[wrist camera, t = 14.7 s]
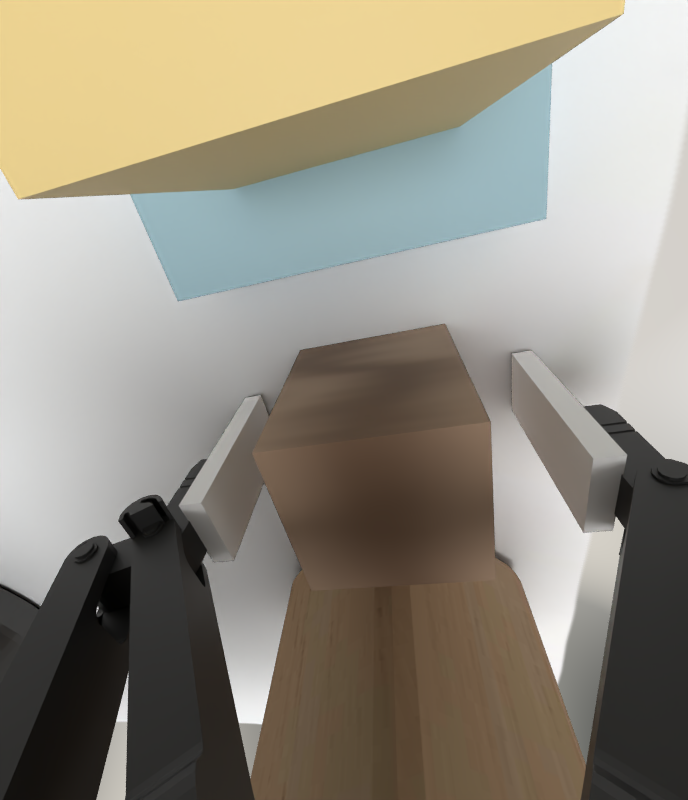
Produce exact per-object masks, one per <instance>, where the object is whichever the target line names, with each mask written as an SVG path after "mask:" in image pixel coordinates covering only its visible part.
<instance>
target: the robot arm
mask: <svg viewBox="0 0 688 800" xmlns="http://www.w3.org/2000/svg"><path fill="white" fill-rule="evenodd" d="M512 411H513V413H514V415H515V416H516V418H517V420H518V422H519V423H520V425H521V427H522V428H523V430H524V432H525V433H526V435H527V437H528V439H529V440H530V442H531V444H532V445H533V447H534V449H535V451H536V452H537V454H538V456H539V457H540V459H541V461H542V463H543V464H544V466H545V468H546V469H547V471H548V473H549V475H550V476H551V478H552V480H553V481H554V483H555V485H556V487H557V488H558V490H559V492H560V493H561V495H562V497H563V499H564V500H565V502H566V504H567V505H568V507H569V509H570V510H571V512H572V514H573V516H574V517H575V519H576V521H577V522H578V524H579V526H580V528H581V529H582V531H583V533H587V532H599V531H612V530H613V528H614V522H615V517H617V518H618V520H619V521H620V522H621V524H622V525H623V527H624V528H625V529H624V534H623V539H622V543H621V548H620V553H619V555H620V558H619V564H618V570H617V577H616V582H615V589H614V595H613V601H612V608H611V614H610V620H609V626H608V633H607V639H606V646H605V651H604V657H603V664H602V670H601V676H600V682H599V689H598V695H597V701H596V707H595V714H594V720H593V727H592V733H591V739H590V745H589V751H588V757H587V764H586V770H585V776H584V782H583V789H582V795H581V800H688V465H687V464H685V463H682V462H679V461H675V460H672V459H665V458H664V457H663V456H662V455H661V454H660V453H659V452H658V451H657V450H656V449H655V448H653V446H651V445H650V444H649V443H648V442H647V441H646V440H645V439H644V438H643V437H642V436H641V435H640V434H639V433H638V432H635V429H634V428H633V427H632V426H631V425H630V424H627V422H626V420H625V419H623V418H622V417H621V416H620V415H619V414H618V413H617V412H616V411H614V410H612V409H610V408H608V407H606V406H603V405H601V404H600V405H592V406H585V407H583V406H582V405H581V404H580V403H579V401H578V400H577V399H576V398H575V397H574V396H573V395H572V394H571V393H570V392H569V391H568V389H567V388H566V387H565V386H564V385H563V384H562V383H561V382H560V381H559V380H558V378H557V377H556V376H555V375H554V374H553V373H552V372H551V371H550V370H549V369H548V367H547V366H546V365H545V364H544V363H543V362H542V361H541V360H540V359H539V358H538V357H537V355H536V354H535V353H534V352H533V351H532V350H530V351H524V352H518V353H512ZM268 418H269V415H268V413H267V410H266V408H265V405H264V403H263V400H262V397H261V395H259V396H253V397H247V398H245V399H244V401H243V402H242V404H241V405H240V407H239V409H238V410H237V412H236V414H235V415H234V417H233V418H232V420H231V422H230V423H229V425H228V427H227V428H226V430H225V431H224V433H223V435H222V436H221V438H220V439H219V441H218V443H217V444H216V446H215V448H214V449H213V451H212V452H211V454H210V456H209V457H208V459H203V460H201V461H200V462H199V463H197V464H196V465H195V466H194V467H193V468H192V469H191V470H190V472H189V473H188V475H187V477H186V478H185V480H184V481H183V483H182V484H181V486H180V488H179V489H178V490H177V492H176V493H175V495H174V496H173V498H172V500H171V501H170V503H169V504H168V506H166V505H165V503H164V501H163V500H162V498H161V497H160V496H158V495H149V496H146V497H143V498H140V499H139V500H137V501H135V502H134V503H132V504H131V505H130V506H128V507H127V508H126V509H125V510H124V511H123V513H122V514H121V515H120V518H119V523H120V524H121V525H122V527H123V528H124V529H125V531H126V532H127V534H128V535H129V536H130V538H129V539H127V540H124V541H121V542H118V543H115V544H112V543H111V542H110V541H109V539H108V538H107V537H106V536H97V537H93V538H91V539H88V540H86V541H84V542H83V543H82V544H80V545H78V546H77V547H76V548H75V549H74V550H73V551H72V552H71V553H70V554H69V555H68V557H67V558H66V559H65V561H64V563H63V565H62V567H61V569H60V571H59V572H58V574H57V576H56V578H55V580H54V582H53V584H52V586H51V588H50V590H49V592H48V594H47V596H46V597H45V599H44V601H43V603H42V605H41V607H40V609H37V608H36V607H34V606H33V605H31V604H30V603H28V602H27V601H25V600H23V599H21V598H20V597H18V596H16V595H14V594H12V593H10V592H8V591H6V590H4V589H2V588H0V800H96V798H97V794H98V790H99V786H100V782H101V778H102V774H103V770H104V766H105V762H106V758H107V754H108V750H109V746H110V742H111V738H112V734H113V730H114V727H115V723H116V719H117V715H118V711H119V707H120V703H121V699H122V695H123V691H124V687H125V683H126V679H127V675H128V671H129V680H128V722H127V724H128V726H127V765H126V797H125V800H255V798H254V794H253V790H252V785H251V781H250V776H249V771H248V767H247V762H246V757H245V752H244V747H243V743H242V737H241V733H240V728H239V723H238V718H237V713H236V709H235V704H234V699H233V694H232V690H231V685H230V680H229V675H228V670H227V666H226V661H225V656H224V651H223V646H222V642H221V637H220V632H219V627H218V623H217V618H216V613H215V608H214V603H213V599H212V594H211V589H210V584H209V579H208V575H207V570H206V568H205V566H204V564H203V563H202V561H203V558H204V556H205V554H206V552H208V554H209V556H210V557H211V559H212V561H213V562H225V561H234V560H235V557H236V554H237V552H238V549H239V547H240V544H241V541H242V539H243V536H244V533H245V531H246V528H247V526H248V523H249V520H250V518H251V515H252V512H253V510H254V507H255V505H256V502H257V499H258V497H259V494H260V491H261V489H262V486H263V484H264V480H263V478H262V475H261V473H260V471H259V468H258V466H257V464H256V462H255V459H254V457H253V455H252V452H253V450H254V448H255V446H256V444H257V441H258V439H259V437H260V435H261V433H262V431H263V429H264V426H265V424H266V422H267V420H268ZM97 606H98V607H99V610H98V612H97V615H96V609H97Z"/></svg>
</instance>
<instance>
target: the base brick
mask: <svg viewBox="0 0 688 800" xmlns="http://www.w3.org/2000/svg"><path fill="white" fill-rule="evenodd" d="M551 78H552V63H551V64H550V65H548V66H547V67H546V68H544V69H543V70H541V71H540V72H538V73H537V74H535V75H534V76H532V77H531V78H530V79H528V80H527V81H525V82H524V83H522V84H521V85H519V86H518V87H516V88H515V89H514V90H512V91H511V92H509V93H508V94H506V95H505V96H503V97H502V98H500V99H499V100H498V101H496V102H495V103H493V104H492V105H490V106H489V107H487V108H486V109H485V110H483V111H482V112H480V113H479V114H477V115H476V116H474V117H473V118H471V119H470V120H469V121H467V122H466V123H464V124H463V125H461V126H460V127H456V128H453V129H449V130H445V131H442V132H438V133H435V134H431V135H427V136H424V137H420V138H417V139H413V140H409V141H406V142H402V143H399V144H395V145H391V146H388V147H384V148H380V149H377V150H373V151H370V152H366V153H362V154H359V155H355V156H352V157H348V158H344V159H341V160H337V161H334V162H330V163H326V164H323V165H319V166H316V167H312V168H308V169H305V170H301V171H297V172H294V173H290V174H287V175H283V176H279V177H276V178H272V179H269V180H265V181H261V182H258V183H254V184H251V185H247V186H243V187H240V188H236V189H228V190H206V191H185V192H164V193H143V194H130V195H131V197H132V200H133V202H134V204H135V206H136V209H137V211H138V213H139V215H140V217H141V220H142V222H143V224H144V226H145V229H146V231H147V233H148V235H149V238H150V240H151V242H152V244H153V247H154V249H155V251H156V253H157V255H158V258H159V260H160V262H161V264H162V267H163V269H164V271H165V273H166V276H167V278H168V280H169V282H170V285H171V287H172V289H173V291H174V293H175V296H176V298H177V300H178V301H182V300H187V299H191V298H196V297H200V296H204V295H209V294H213V293H218V292H222V291H227V290H231V289H236V288H240V287H245V286H249V285H254V284H258V283H262V282H267V281H271V280H276V279H280V278H285V277H289V276H294V275H298V274H303V273H307V272H311V271H316V270H320V269H325V268H329V267H334V266H338V265H343V264H347V263H352V262H356V261H360V260H365V259H369V258H374V257H378V256H383V255H387V254H392V253H396V252H401V251H405V250H409V249H414V248H418V247H423V246H427V245H432V244H436V243H441V242H445V241H450V240H454V239H458V238H463V237H467V236H472V235H476V234H481V233H485V232H490V231H494V230H499V229H503V228H507V227H512V226H516V225H521V224H525V223H530V222H534V221H539V220H543V219H546V210H547V184H548V157H549V131H550V105H551Z"/></svg>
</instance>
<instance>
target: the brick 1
mask: <svg viewBox="0 0 688 800" xmlns="http://www.w3.org/2000/svg"><path fill="white" fill-rule="evenodd" d="M624 5H625V0H0V169H1V170H2V172H3V174H4V176H5V177H6V179H7V181H8V183H9V184H10V186H11V188H12V189H13V191H14V193H15V195H16V196H17V198H18V199H37V198H58V197H80V196H101V195H122V194H143V193H164V192H185V191H206V190H228V189H236V188H240V187H243V186H247V185H251V184H254V183H258V182H261V181H265V180H269V179H272V178H276V177H279V176H283V175H287V174H290V173H294V172H297V171H301V170H305V169H308V168H312V167H316V166H319V165H323V164H326V163H330V162H334V161H337V160H341V159H344V158H348V157H352V156H355V155H359V154H362V153H366V152H370V151H373V150H377V149H380V148H384V147H388V146H391V145H395V144H399V143H402V142H406V141H409V140H413V139H417V138H420V137H424V136H427V135H431V134H435V133H438V132H442V131H445V130H449V129H453V128H456V127H460V126H461V125H463V124H464V123H466V122H467V121H469V120H470V119H471V118H473V117H474V116H476V115H477V114H479V113H480V112H482V111H483V110H485V109H486V108H487V107H489V106H490V105H492V104H493V103H495V102H496V101H498V100H499V99H500V98H502V97H503V96H505V95H506V94H508V93H509V92H511V91H512V90H514V89H515V88H516V87H518V86H519V85H521V84H522V83H524V82H525V81H527V80H528V79H530V78H531V77H532V76H534V75H535V74H537V73H538V72H540V71H541V70H543V69H544V68H546V67H547V66H548V65H550V64H551V63H553V62H554V61H556V60H557V59H559V58H560V57H561V56H563V55H564V54H566V53H567V52H569V51H570V50H572V49H573V48H575V47H576V46H577V45H579V44H580V43H582V42H583V41H585V40H586V39H588V38H589V37H591V36H592V35H593V34H595V33H596V32H598V31H599V30H601V29H602V28H604V27H605V26H607V25H608V24H609V23H611V22H612V21H614V20H615V19H617V18H618V17H620V16H621V15H622V14H624Z"/></svg>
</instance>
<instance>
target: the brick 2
mask: <svg viewBox="0 0 688 800" xmlns="http://www.w3.org/2000/svg"><path fill="white" fill-rule="evenodd" d="M252 455H253V457H254V459H255V462H256V464H257V466H258V468H259V471H260V473H261V475H262V478H263V480H264V482H265V485H266V487H267V489H268V492H269V494H270V496H271V498H272V501H273V503H274V505H275V508H276V510H277V512H278V515H279V517H280V519H281V522H282V524H283V526H284V529H285V531H286V533H287V535H288V538H289V540H290V542H291V545H292V547H293V549H294V552H295V554H296V556H297V559H298V561H299V563H300V565H301V568H302V570H303V572H304V575H305V577H306V579H307V582H308V584H309V586H310V589H311V591H317V590H335V589H352V588H369V587H386V586H404V585H421V584H438V583H456V582H473V581H490V580H496V568H495V538H494V508H493V478H492V448H491V422H490V419H489V417H488V415H487V413H486V411H485V409H484V407H483V404H482V402H481V400H480V398H479V396H478V394H477V392H476V389H475V387H474V385H473V383H472V381H471V379H470V377H469V374H468V372H467V370H466V368H465V366H464V364H463V362H462V359H461V357H460V355H459V353H458V351H457V349H456V346H455V344H454V342H453V340H452V338H451V336H450V334H449V331H448V329H447V327H446V325H445V324H441V325H436V326H430V327H425V328H419V329H414V330H408V331H403V332H397V333H392V334H386V335H381V336H375V337H370V338H364V339H359V340H353V341H348V342H342V343H337V344H331V345H326V346H320V347H315V348H309V349H304V350H300V352H299V354H298V356H297V358H296V360H295V363H294V365H293V367H292V369H291V371H290V373H289V375H288V377H287V380H286V382H285V384H284V386H283V388H282V390H281V392H280V395H279V397H278V399H277V401H276V403H275V405H274V407H273V409H272V412H271V414H270V416H269V418H268V420H267V422H266V424H265V426H264V429H263V431H262V433H261V435H260V437H259V439H258V441H257V444H256V446H255V448H254V450H253V452H252Z"/></svg>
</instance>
